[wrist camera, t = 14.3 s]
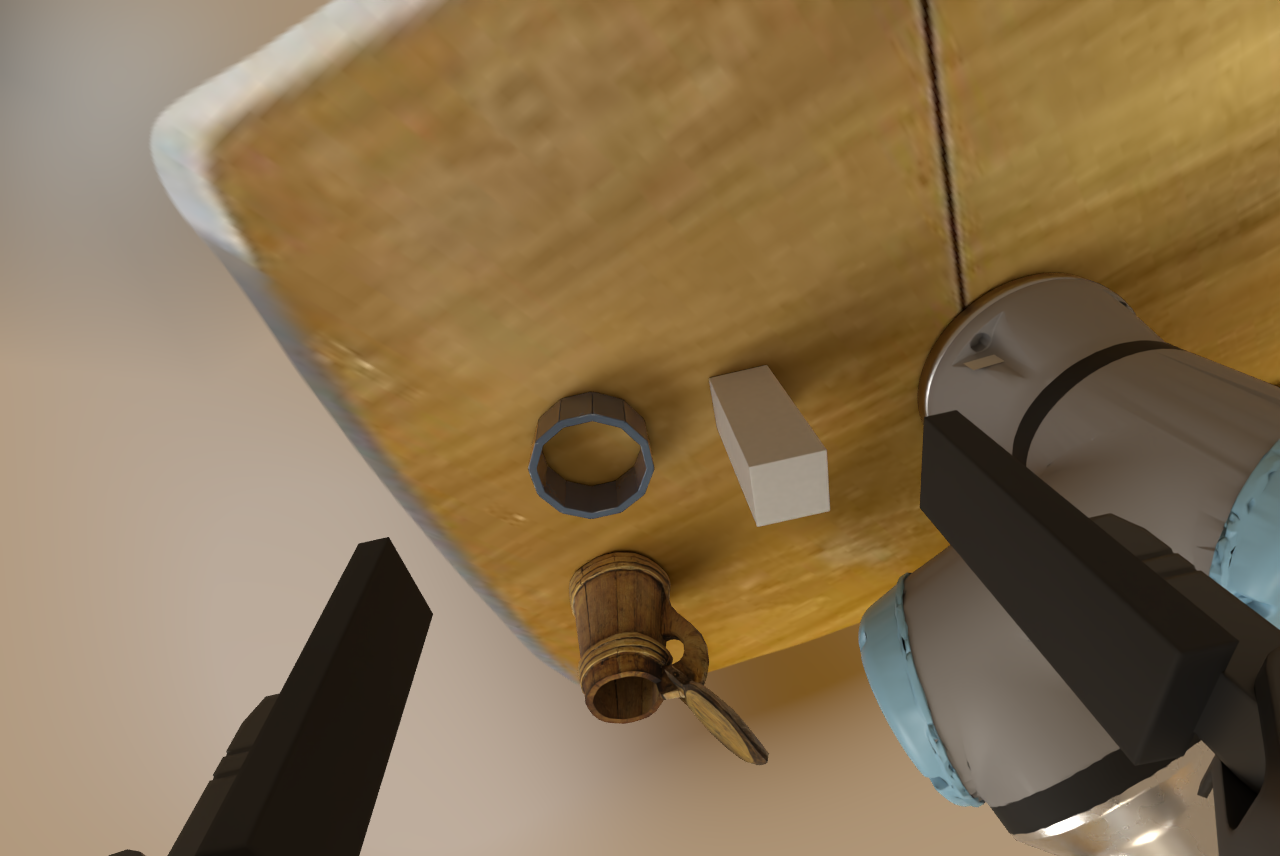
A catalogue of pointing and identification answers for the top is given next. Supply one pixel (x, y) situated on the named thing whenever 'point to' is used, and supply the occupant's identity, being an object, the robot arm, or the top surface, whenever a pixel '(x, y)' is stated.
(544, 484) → the faceted metal ring
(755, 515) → the grey block
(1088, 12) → the top surface
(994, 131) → the top surface
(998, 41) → the top surface
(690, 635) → the wooden mug
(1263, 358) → the top surface
